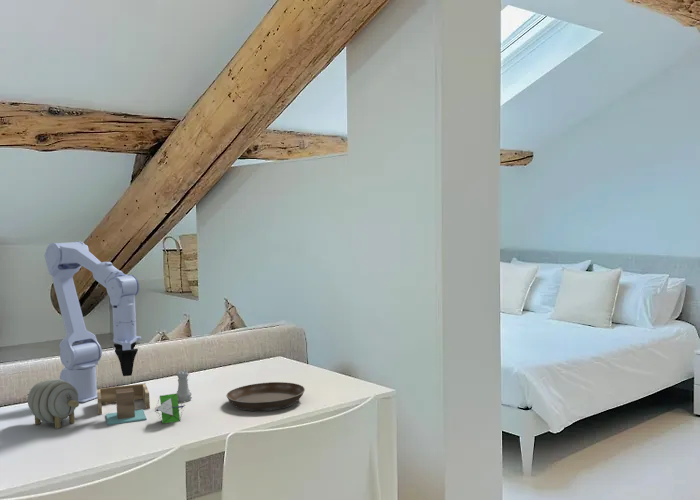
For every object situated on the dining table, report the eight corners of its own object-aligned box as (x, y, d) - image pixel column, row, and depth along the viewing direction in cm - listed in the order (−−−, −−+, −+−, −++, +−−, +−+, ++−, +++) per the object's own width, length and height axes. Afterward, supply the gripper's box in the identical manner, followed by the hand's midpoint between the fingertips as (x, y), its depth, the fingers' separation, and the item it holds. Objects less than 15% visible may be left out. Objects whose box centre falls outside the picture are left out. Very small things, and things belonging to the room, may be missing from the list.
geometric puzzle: (152, 409, 168) (154, 388, 164) (180, 405, 171) (182, 384, 167) (156, 432, 163) (158, 411, 159) (185, 428, 166) (188, 407, 162)
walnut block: (117, 415, 170) (115, 389, 170) (133, 412, 172) (132, 388, 172) (117, 419, 167) (116, 393, 166) (134, 417, 168) (133, 391, 168)
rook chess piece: (187, 402, 182) (186, 373, 181) (172, 402, 183) (171, 372, 182) (194, 398, 186) (193, 369, 186) (179, 397, 187) (178, 369, 187)
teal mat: (106, 415, 172) (106, 413, 172) (143, 410, 175) (143, 409, 175) (107, 425, 163) (107, 423, 163) (146, 419, 167) (146, 418, 167)
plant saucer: (210, 410, 175) (210, 397, 175) (255, 390, 193) (254, 379, 193) (279, 418, 166) (278, 404, 166) (318, 396, 185) (318, 384, 184)
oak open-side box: (97, 403, 184) (97, 388, 183) (145, 397, 188) (145, 383, 188) (98, 414, 173) (97, 399, 172) (149, 408, 177) (149, 393, 177)
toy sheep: (48, 414, 174) (46, 372, 173) (98, 421, 167) (95, 377, 166) (13, 427, 164) (10, 382, 164) (63, 434, 157) (61, 387, 157)
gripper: (142, 324, 172) (144, 376, 173) (138, 316, 186) (140, 365, 187) (113, 326, 170) (115, 379, 171) (111, 318, 183) (113, 368, 184)
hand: (126, 372), depth 178 cm, fingers open, 7 cm apart
